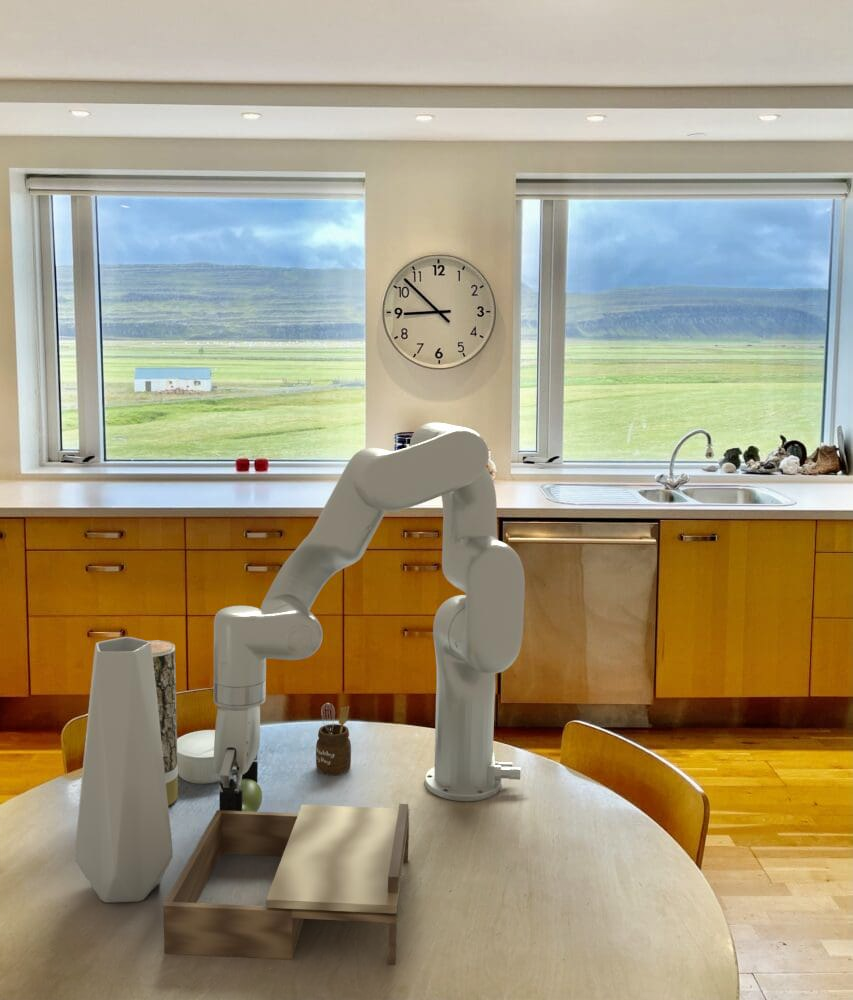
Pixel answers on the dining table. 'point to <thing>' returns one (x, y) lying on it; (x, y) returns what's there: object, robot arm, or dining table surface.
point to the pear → (250, 795)
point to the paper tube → (167, 711)
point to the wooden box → (244, 924)
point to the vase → (123, 777)
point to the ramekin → (197, 757)
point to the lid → (342, 860)
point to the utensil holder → (333, 746)
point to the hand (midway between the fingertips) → (239, 800)
